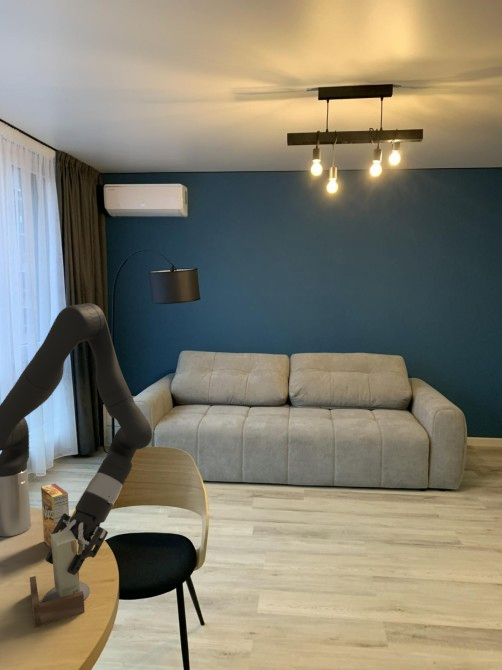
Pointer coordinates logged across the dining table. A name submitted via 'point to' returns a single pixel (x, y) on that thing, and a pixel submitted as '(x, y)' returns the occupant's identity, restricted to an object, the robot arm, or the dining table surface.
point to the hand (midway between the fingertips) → (59, 567)
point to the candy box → (53, 508)
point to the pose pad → (53, 595)
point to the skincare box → (64, 563)
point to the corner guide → (54, 606)
